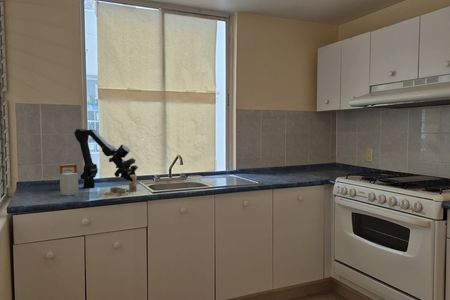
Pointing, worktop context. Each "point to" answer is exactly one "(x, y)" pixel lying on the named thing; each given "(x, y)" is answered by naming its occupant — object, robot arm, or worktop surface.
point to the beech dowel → (133, 183)
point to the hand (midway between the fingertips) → (134, 180)
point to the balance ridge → (117, 191)
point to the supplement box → (69, 183)
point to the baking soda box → (68, 168)
